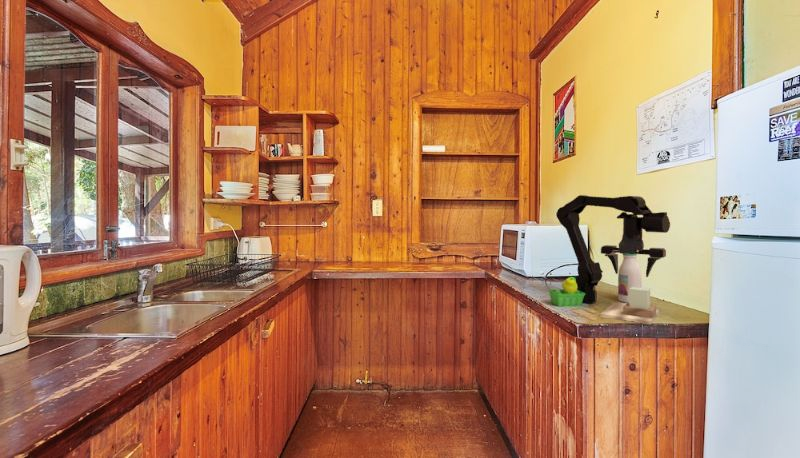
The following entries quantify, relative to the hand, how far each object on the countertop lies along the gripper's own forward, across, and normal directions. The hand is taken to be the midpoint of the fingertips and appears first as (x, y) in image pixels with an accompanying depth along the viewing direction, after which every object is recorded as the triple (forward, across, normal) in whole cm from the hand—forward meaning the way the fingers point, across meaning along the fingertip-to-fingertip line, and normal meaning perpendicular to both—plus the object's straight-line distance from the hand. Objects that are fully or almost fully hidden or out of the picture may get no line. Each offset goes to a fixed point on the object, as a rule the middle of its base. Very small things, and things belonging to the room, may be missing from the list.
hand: (631, 275), depth 126 cm
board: (+13, +1, -5) cm, 13 cm away
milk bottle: (+13, -4, +15) cm, 20 cm away
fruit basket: (+13, -20, -6) cm, 24 cm away
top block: (+9, +4, -8) cm, 12 cm away
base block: (+12, +4, -8) cm, 14 cm away
